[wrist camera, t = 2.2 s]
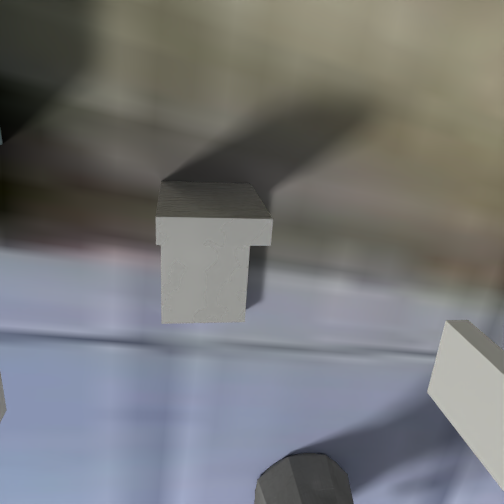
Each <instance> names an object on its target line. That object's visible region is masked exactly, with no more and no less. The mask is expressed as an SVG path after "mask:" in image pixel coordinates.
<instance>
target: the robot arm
mask: <svg viewBox="0 0 504 504" xmlns="http://www.w3.org/2000/svg"><path fill="white" fill-rule="evenodd" d="M427 393H428V394H429V395H430V397H431V398H432V399H433V400H434V402H435V403H436V404H437V406H438V407H439V408H440V410H441V411H442V412H443V413H444V415H445V416H446V417H447V419H448V420H449V421H450V422H451V424H452V425H453V426H454V428H455V429H456V430H457V432H458V433H459V434H460V435H461V437H462V438H463V439H464V441H465V442H466V443H467V445H468V446H469V447H470V448H471V450H472V451H473V452H474V454H475V455H476V456H477V457H478V459H479V460H480V461H481V463H482V464H483V465H484V467H485V468H486V469H487V470H488V472H489V473H490V474H491V476H492V477H493V478H494V479H495V481H496V482H497V483H498V485H499V486H500V487H501V489H502V490H503V491H504V351H503V350H502V349H501V348H500V347H499V346H497V345H496V344H495V343H494V342H493V341H492V340H490V339H489V338H488V337H487V336H486V335H485V334H483V333H482V332H481V331H480V330H479V329H478V328H477V327H475V326H474V325H473V324H472V323H471V322H470V321H468V320H446V322H445V326H444V329H443V333H442V337H441V341H440V345H439V349H438V353H437V356H436V360H435V364H434V368H433V372H432V376H431V380H430V383H429V387H428V391H427ZM5 412H6V404H5V398H4V392H3V385H2V379H1V373H0V422H1V420H2V418H3V416H4V414H5Z"/></svg>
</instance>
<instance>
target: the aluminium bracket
mask: <svg viewBox="0 0 504 504" xmlns="http://www.w3.org/2000/svg"><path fill="white" fill-rule="evenodd" d="M272 225H273V218H272V217H271V215H270V214H269V212H268V210H267V209H266V207H265V206H264V204H263V202H262V201H261V199H260V198H259V196H258V195H257V193H256V191H255V190H254V188H253V187H252V185H251V184H246V183H214V182H181V181H161V186H160V192H159V199H158V206H157V212H156V245H161V314H162V324H168V323H218V322H245V310H246V295H247V281H248V267H249V252H250V246H271V236H272Z"/></svg>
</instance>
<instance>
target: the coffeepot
mask: <svg viewBox="0 0 504 504" xmlns="http://www.w3.org/2000/svg"><path fill="white" fill-rule="evenodd" d="M254 504H354V503H353V499H352V494H351V489H350V485H349V480H348V475H347V473H345V472H344V471H343V470H342V469H341V468H340V467H339V465H338V464H337V463H336V462H335V461H333V460H332V459H331V458H329V457H328V456H327V455H323V454H315V453H303V454H296V455H293V456H289V457H286V458H284V459H282V460H280V461H278V462H276V463H275V464H273V465H272V466H271V467H269V468H268V469H267V470H266V471H265V472H264V473H263V475H262V476H261V477H260V478H258V480H257V486H256V489H255V502H254Z"/></svg>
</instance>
